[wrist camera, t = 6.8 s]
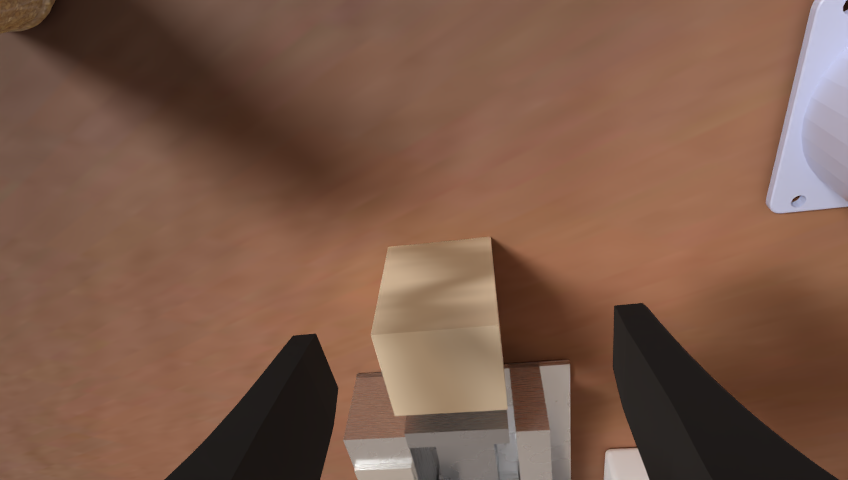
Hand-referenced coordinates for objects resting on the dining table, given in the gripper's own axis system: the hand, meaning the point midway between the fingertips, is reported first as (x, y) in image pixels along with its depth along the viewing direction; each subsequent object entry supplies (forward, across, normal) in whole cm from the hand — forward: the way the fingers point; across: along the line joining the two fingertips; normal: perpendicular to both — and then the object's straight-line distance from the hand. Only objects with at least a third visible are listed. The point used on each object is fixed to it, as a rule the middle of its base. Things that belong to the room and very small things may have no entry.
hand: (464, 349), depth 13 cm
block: (+10, +2, +6) cm, 11 cm away
